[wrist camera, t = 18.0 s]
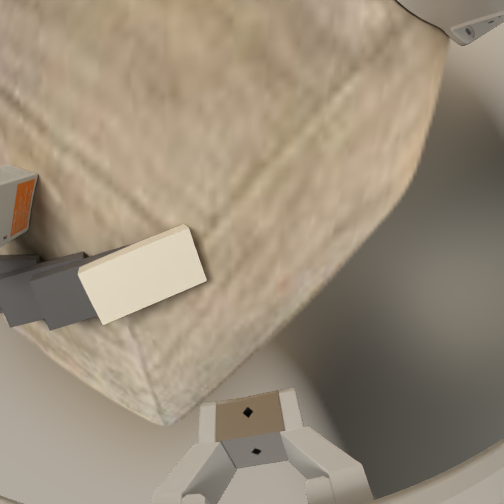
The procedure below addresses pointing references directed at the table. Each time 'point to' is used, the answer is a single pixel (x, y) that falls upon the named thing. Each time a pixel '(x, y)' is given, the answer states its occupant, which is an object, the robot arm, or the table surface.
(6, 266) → the domino
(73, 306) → the domino
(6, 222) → the skincare box
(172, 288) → the domino
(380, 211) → the table surface
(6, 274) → the domino
